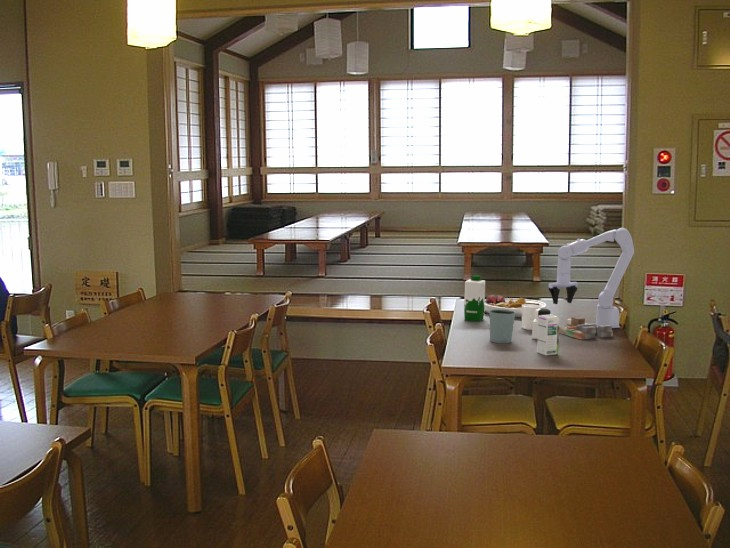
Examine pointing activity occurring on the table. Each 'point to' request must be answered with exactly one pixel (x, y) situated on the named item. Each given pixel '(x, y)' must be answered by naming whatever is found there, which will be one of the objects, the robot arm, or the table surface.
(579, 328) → the gauge plate
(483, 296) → the milk carton
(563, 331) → the gauge bed
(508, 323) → the drinking glass
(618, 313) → the robot arm
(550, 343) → the syrup box
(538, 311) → the medicine bottle
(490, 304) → the bowl
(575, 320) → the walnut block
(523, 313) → the white cup
